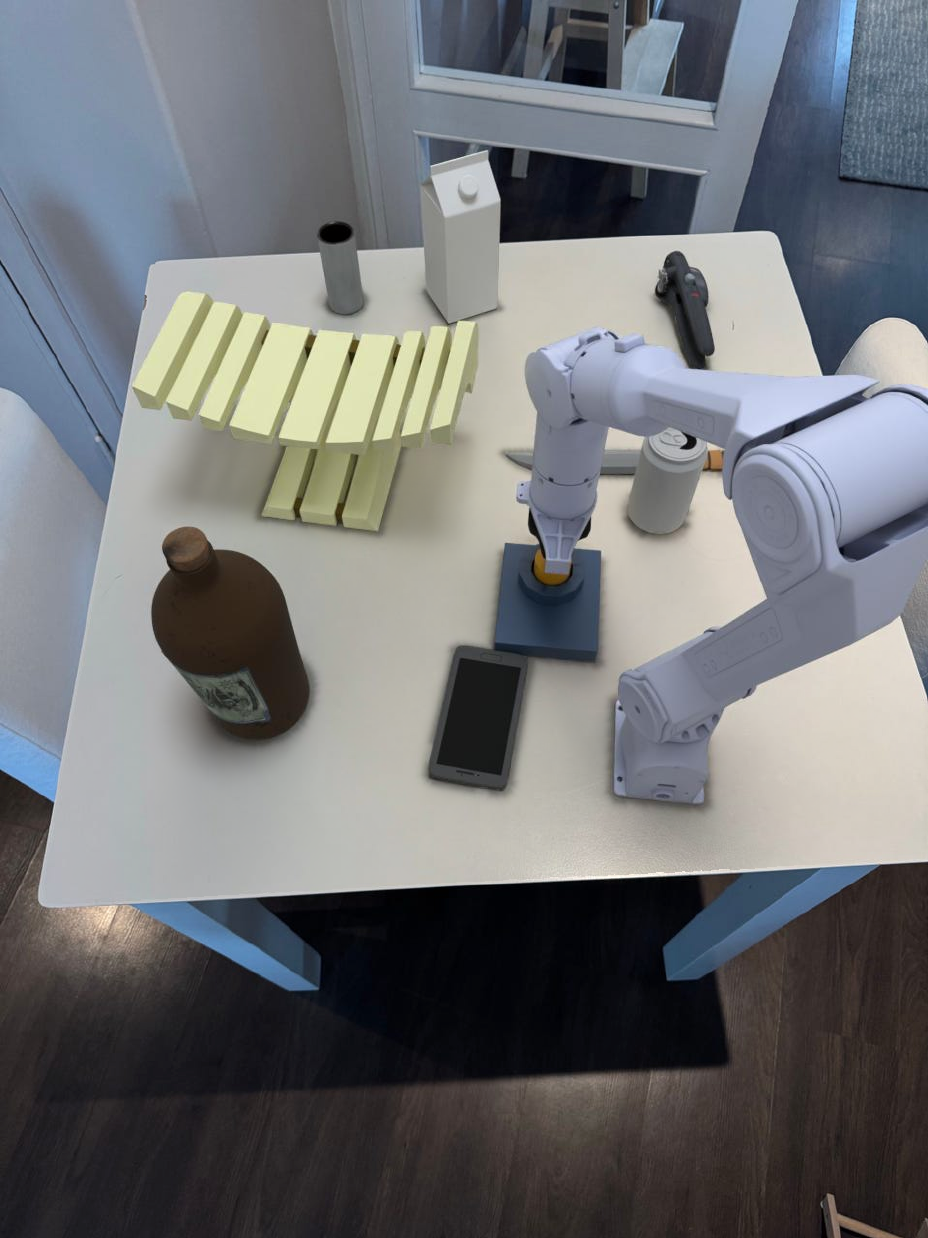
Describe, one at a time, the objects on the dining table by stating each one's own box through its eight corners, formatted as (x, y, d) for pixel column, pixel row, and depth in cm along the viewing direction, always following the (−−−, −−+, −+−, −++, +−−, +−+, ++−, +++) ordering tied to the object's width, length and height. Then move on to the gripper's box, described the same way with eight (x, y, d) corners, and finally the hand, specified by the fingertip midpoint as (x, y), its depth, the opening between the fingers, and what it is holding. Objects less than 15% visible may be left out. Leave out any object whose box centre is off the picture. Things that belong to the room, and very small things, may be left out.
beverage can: (682, 542, 90) (709, 467, 79) (622, 532, 90) (641, 457, 80) (686, 496, 93) (713, 418, 82) (628, 487, 93) (647, 409, 83)
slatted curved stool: (477, 432, 98) (478, 305, 83) (454, 541, 90) (450, 423, 75) (232, 403, 101) (189, 275, 85) (188, 506, 93) (131, 385, 77)
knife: (504, 476, 94) (504, 441, 96) (504, 483, 95) (504, 448, 97) (778, 475, 92) (771, 439, 95) (775, 482, 93) (768, 447, 96)
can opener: (646, 281, 111) (654, 243, 107) (698, 278, 112) (708, 240, 107) (670, 375, 102) (680, 338, 97) (727, 372, 102) (739, 335, 98)
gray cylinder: (322, 308, 109) (309, 237, 100) (341, 287, 111) (329, 216, 103) (352, 318, 108) (341, 247, 99) (370, 298, 110) (361, 226, 101)
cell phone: (529, 658, 82) (529, 655, 82) (505, 792, 75) (506, 789, 75) (456, 646, 83) (456, 642, 83) (426, 777, 76) (425, 775, 76)
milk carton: (426, 292, 111) (417, 149, 94) (474, 276, 112) (474, 134, 96) (448, 325, 107) (443, 183, 91) (497, 308, 109) (502, 166, 93)
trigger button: (568, 587, 83) (571, 575, 81) (532, 584, 83) (533, 572, 81) (570, 557, 84) (572, 545, 83) (535, 554, 85) (536, 542, 83)
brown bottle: (229, 638, 84) (145, 474, 63) (330, 658, 83) (279, 498, 61) (189, 734, 79) (81, 591, 57) (295, 757, 78) (226, 620, 56)
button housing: (595, 662, 82) (600, 642, 79) (494, 653, 83) (494, 633, 79) (598, 562, 88) (603, 539, 85) (504, 554, 89) (505, 531, 86)
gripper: (525, 392, 73) (518, 492, 85) (512, 525, 66) (506, 613, 78) (606, 398, 73) (588, 497, 85) (602, 532, 65) (582, 620, 77)
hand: (554, 553), depth 81 cm, fingers closed
